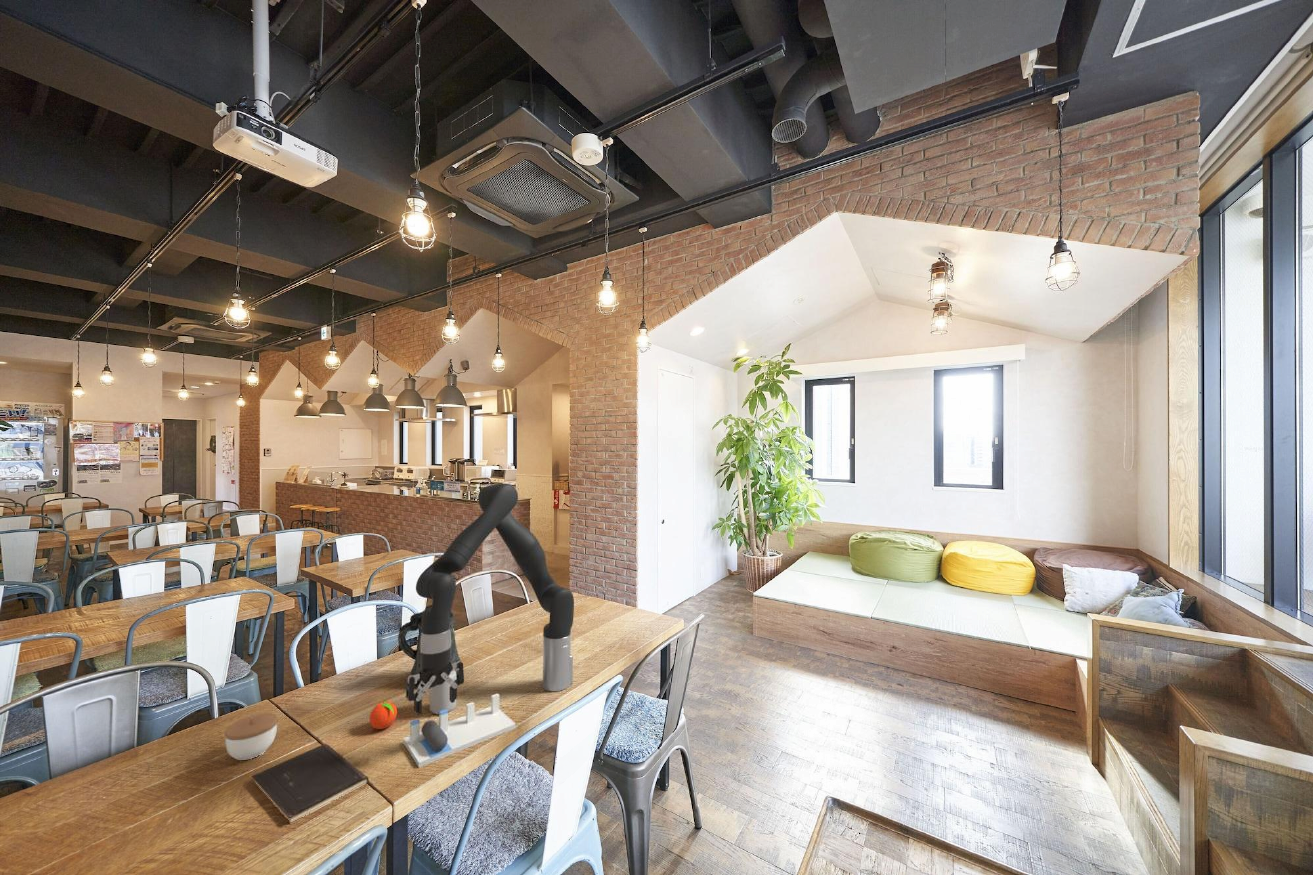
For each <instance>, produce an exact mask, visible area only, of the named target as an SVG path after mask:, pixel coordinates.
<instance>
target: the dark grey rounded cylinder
mask: <svg viewBox="0 0 1313 875" xmlns="http://www.w3.org/2000/svg"><path fill="white" fill-rule="evenodd" d="M421 732H422V734H423V736H424V737H425V738H426V740H427V741H428V743H429V744H430V746H431V747H432V748H433V749H434V750H436V751H439V750H442V749H443V748H444V747H445V746H446V744H447V741H448V738H447V736H446V734H445V733H444V732H443V730H442V729H441V728H440V727H439V723H437V722H436V721H435V720H432V719H429V720H427V721H426V722H424V724H422V727H421Z"/></svg>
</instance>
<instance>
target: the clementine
mask: <svg viewBox="0 0 1313 875" xmlns="http://www.w3.org/2000/svg"><path fill="white" fill-rule="evenodd" d="M397 716H398V709H397V706H396V705H395V704H394V703H393V702H391V701H387V700H386V701H382V702H380V703H378V704H376V705H375V706H374V707H373V708H372V710H371V711H370V714H369V723H370V725H371V726H372V727H373V728H374V729H377V730H383V729H386V728H388V727H390V726H391V725H393V723H394V722H395V721H396V719H397Z"/></svg>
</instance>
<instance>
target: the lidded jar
mask: <svg viewBox="0 0 1313 875" xmlns="http://www.w3.org/2000/svg"><path fill="white" fill-rule="evenodd" d="M278 722H279V716H278V715H277V714H275V713H271V712H270V713H268V712H267V713H258V714H253V715H250V716H248V717H245V718H242V719H239V720H237V721H235V722H234V723H232V724H231V725H229V726H228V727H227V728H226V729H225V731H224V737H225V738H224V739H225V741H224V742H225V743H224V744H225V749H226V752H227V754H228V755H229V756H230V757H231V758H233V759H235V760H236V759H238V760H246V759H251V760H253V759H252V758H254V757H257V756H258V755H261V754H262V755H263V754H265V753H266V752H267V750H268V749H269V748H270V747H271V746H272V743H274V740H275V738H276V735H277V731H278ZM264 752H265V753H264ZM262 755H261V756H262ZM257 758H258V757H257ZM254 759H255V758H254Z"/></svg>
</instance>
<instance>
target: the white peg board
mask: <svg viewBox="0 0 1313 875" xmlns="http://www.w3.org/2000/svg"><path fill="white" fill-rule="evenodd" d="M490 697H491V698H490V699H491V700H490V702H491V703H490V706H489V707H485V708H482V709H480V710H477V711H476V710H475V708H476V707H475V705H476V704H475V702H474V701H472V702H469V703H466V704H465V706H466V707H465V715H464V716H461V717H459V718H458V717H457V718H455V719H452V720H450V721H449V712H448V710H447V709H445V710H443V711H440V712H439V714H438V715H439V716H438V717H439V718H438V725H439V727H440V728H441V729H442V730H443V732H444V733H445V734H446V736H447V738H448V741H447V744H446V746H445V747H444V748H443V749H442V750H439V751H436V750H434V749H433V748H432V747H431V746H430V744H429V743H428V741H427V740H426V738H425V737H424V736H423V734H422V731H420V722H421V721H420V719H419V718H417V719H414V720H411V721H410V723H409V724H410V725H409V728H410V729H409V736H406V737H403V738H402V739H403V741H402V743H403V744H404V746H405V748H406V750H407V751H408V753H409V754H410V755H411V758H412V759H413V761H414V762H415V764H416V765H417V768H422V767H424V766H427V765H429V764H431V763H433V762H436V761H439V760H442V759H443V758H446V757H449V756H451V755H453V754H456V753H459V752H461V751H463V750H465V749H467V748H471V747H472V746H476V745H478V744H480V743H483V742H485V741H487V740H490V739H493V738H494V737H495V738H496V737H497V736H500V735H502V734H504V733H507V732H510V731H512V730H514V729H515V730H516V728H517V727H516V723H515V722H514V721H513V719H511V718H510V717H509V716H508V715H507V714H506V713H504V712H503V710H501V709H500V694H499V693H495V694H492V695H491V696H490Z"/></svg>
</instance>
